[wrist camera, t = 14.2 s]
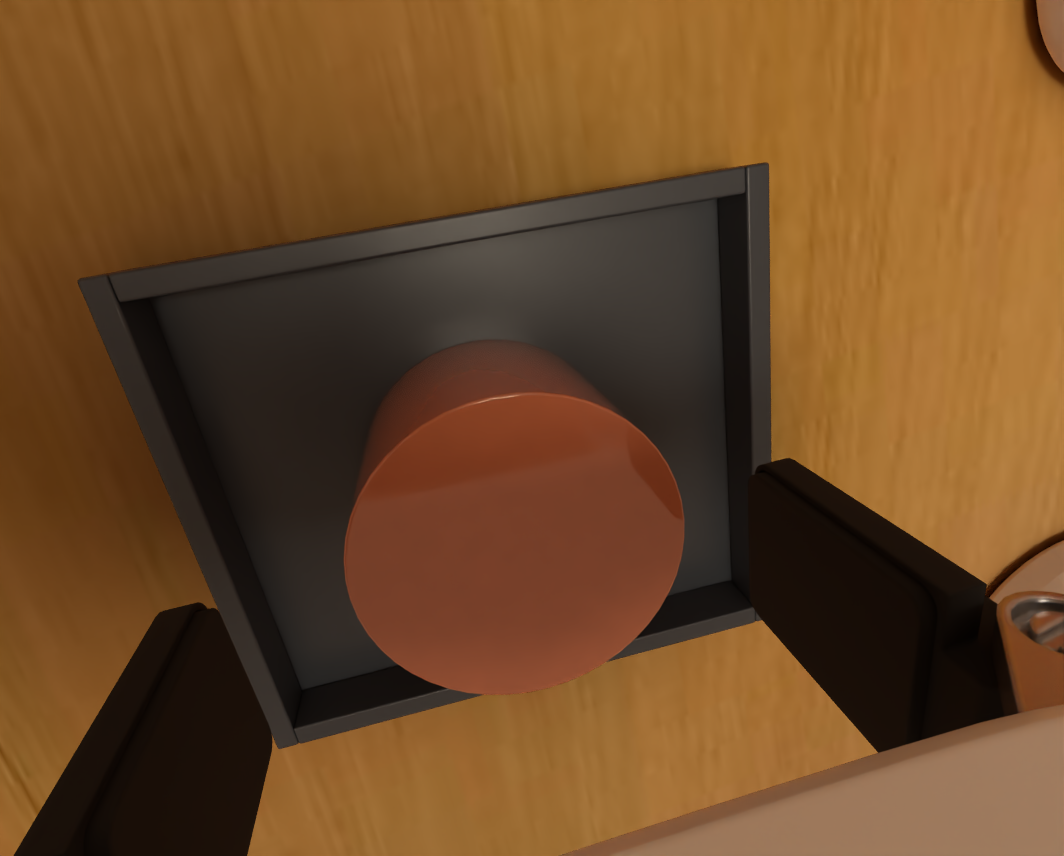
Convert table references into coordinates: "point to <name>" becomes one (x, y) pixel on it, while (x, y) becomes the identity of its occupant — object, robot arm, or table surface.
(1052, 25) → the pill bottle
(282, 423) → the tray
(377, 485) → the orange cylinder
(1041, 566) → the mug
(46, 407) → the table surface
